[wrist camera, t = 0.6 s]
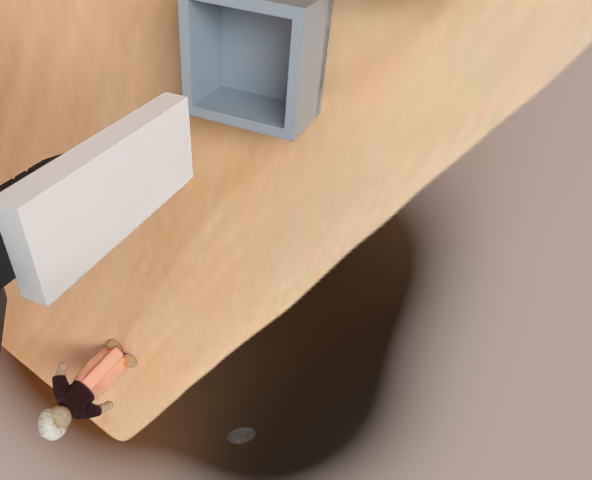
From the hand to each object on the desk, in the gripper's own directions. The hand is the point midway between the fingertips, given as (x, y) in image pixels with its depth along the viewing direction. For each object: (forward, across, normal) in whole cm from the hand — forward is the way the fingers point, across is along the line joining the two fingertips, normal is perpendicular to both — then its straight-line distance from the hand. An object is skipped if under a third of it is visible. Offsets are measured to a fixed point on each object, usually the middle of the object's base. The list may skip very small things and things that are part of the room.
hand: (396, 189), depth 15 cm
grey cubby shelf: (+21, -13, -4) cm, 25 cm away
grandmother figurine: (+21, -32, -43) cm, 58 cm away
